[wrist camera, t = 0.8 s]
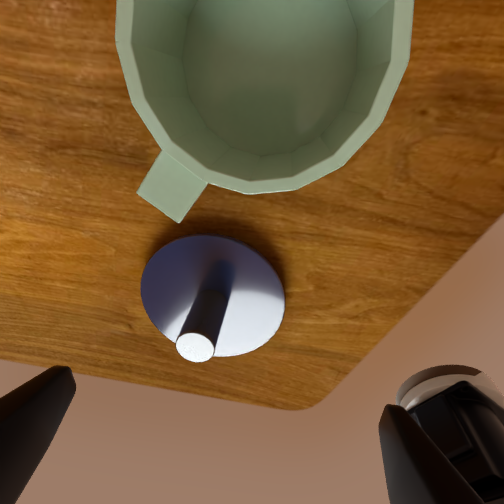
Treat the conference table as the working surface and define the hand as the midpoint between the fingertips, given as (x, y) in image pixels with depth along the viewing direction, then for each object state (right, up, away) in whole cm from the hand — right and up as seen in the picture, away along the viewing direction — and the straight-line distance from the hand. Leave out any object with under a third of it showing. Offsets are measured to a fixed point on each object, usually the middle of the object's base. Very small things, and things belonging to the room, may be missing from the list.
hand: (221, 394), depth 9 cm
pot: (+2, +14, +8) cm, 16 cm away
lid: (-2, +1, +14) cm, 14 cm away
